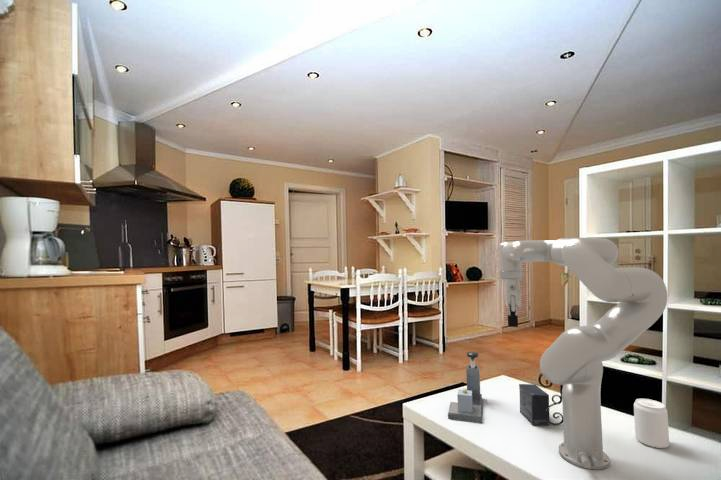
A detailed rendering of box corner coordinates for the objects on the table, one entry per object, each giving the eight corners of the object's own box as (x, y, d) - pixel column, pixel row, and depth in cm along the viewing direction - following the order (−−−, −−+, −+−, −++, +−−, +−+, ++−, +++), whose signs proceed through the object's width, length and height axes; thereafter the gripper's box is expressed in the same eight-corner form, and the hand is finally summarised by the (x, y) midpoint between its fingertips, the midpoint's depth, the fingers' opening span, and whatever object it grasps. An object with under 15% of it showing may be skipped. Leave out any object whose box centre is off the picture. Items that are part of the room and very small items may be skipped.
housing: (472, 412, 127) (471, 392, 127) (457, 410, 129) (457, 391, 129) (472, 406, 132) (471, 387, 132) (458, 405, 133) (458, 386, 134)
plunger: (479, 388, 140) (478, 355, 141) (467, 387, 142) (466, 354, 142) (479, 384, 144) (478, 351, 145) (467, 383, 146) (466, 351, 146)
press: (481, 423, 123) (480, 385, 123) (448, 418, 127) (447, 382, 127) (481, 397, 144) (480, 365, 145) (453, 394, 148) (452, 363, 148)
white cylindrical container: (656, 451, 103) (654, 410, 104) (629, 438, 111) (627, 399, 112) (676, 447, 106) (674, 406, 106) (648, 434, 113) (645, 396, 114)
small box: (551, 425, 120) (550, 394, 121) (532, 425, 120) (531, 394, 121) (536, 411, 131) (535, 383, 131) (519, 412, 131) (518, 383, 131)
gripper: (524, 276, 120) (526, 331, 119) (519, 274, 134) (522, 322, 133) (500, 277, 122) (503, 330, 121) (498, 274, 136) (500, 322, 135)
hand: (513, 326), depth 127 cm, fingers closed
